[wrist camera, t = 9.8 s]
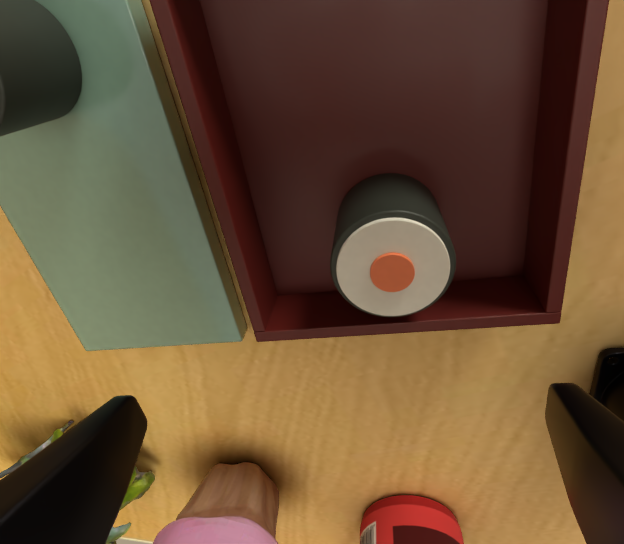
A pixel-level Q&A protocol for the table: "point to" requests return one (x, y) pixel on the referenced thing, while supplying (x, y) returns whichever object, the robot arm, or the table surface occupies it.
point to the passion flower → (135, 491)
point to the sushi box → (390, 143)
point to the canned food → (409, 522)
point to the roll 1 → (35, 67)
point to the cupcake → (227, 509)
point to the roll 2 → (391, 247)
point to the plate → (119, 197)
